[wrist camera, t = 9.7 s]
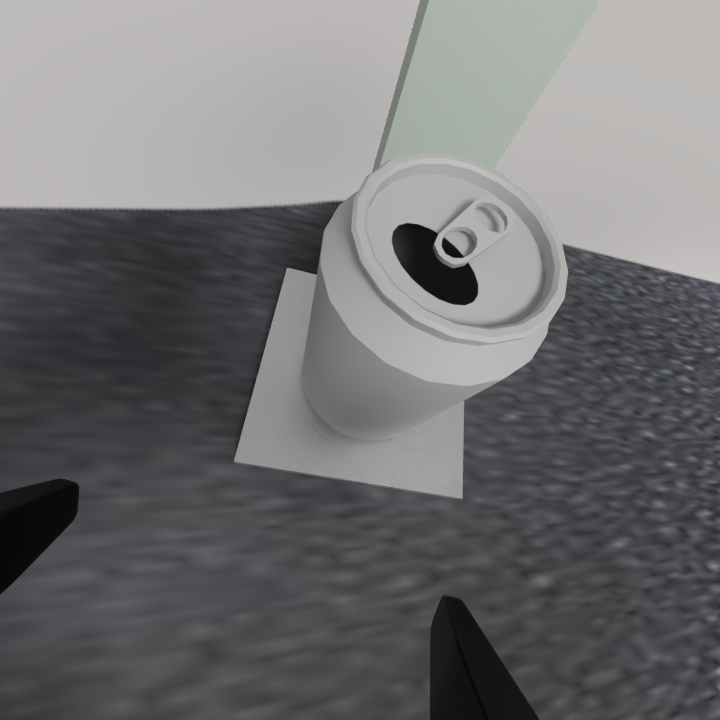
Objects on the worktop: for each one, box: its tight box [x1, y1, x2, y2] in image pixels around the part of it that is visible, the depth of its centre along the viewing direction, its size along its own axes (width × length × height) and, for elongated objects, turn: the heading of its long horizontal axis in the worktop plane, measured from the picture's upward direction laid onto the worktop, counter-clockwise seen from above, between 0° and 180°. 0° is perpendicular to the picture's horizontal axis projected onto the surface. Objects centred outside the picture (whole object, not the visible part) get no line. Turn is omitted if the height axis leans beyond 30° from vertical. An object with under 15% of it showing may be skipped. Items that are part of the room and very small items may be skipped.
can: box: [302, 153, 568, 441], centre depth 14 cm, size 8×8×12 cm
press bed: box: [234, 268, 464, 499], centre depth 21 cm, size 12×12×2 cm
